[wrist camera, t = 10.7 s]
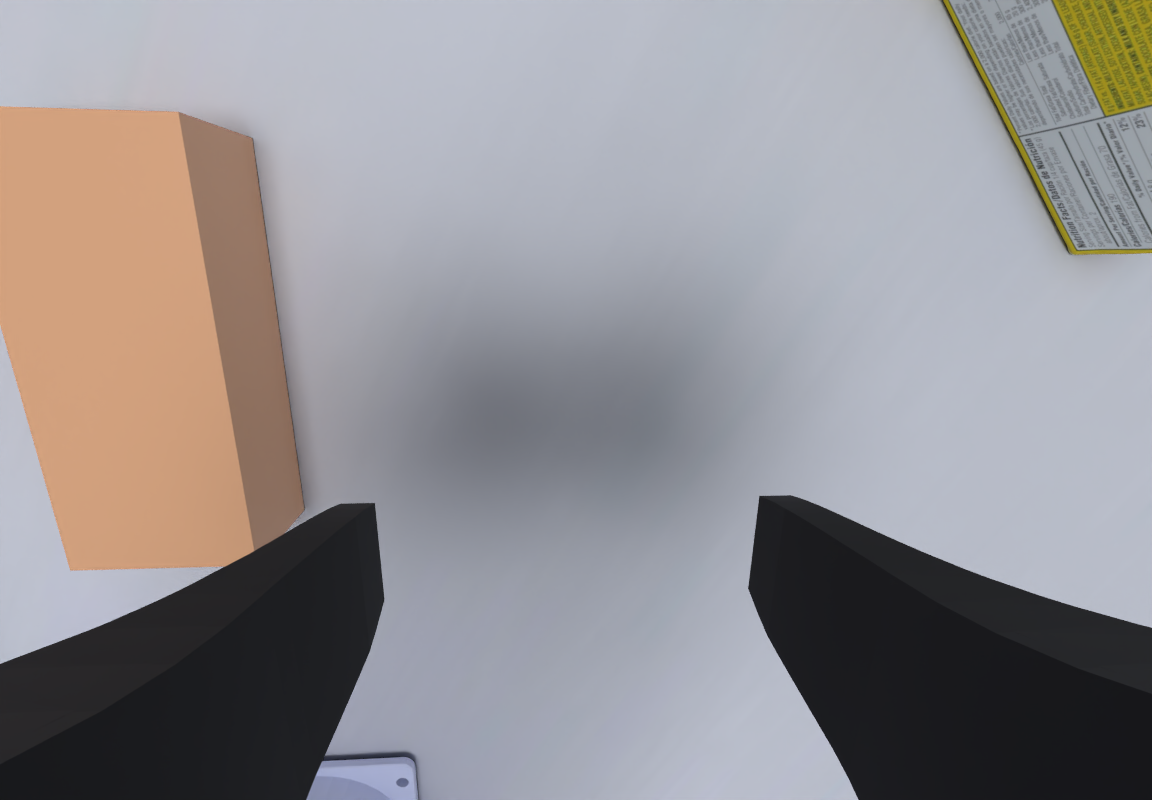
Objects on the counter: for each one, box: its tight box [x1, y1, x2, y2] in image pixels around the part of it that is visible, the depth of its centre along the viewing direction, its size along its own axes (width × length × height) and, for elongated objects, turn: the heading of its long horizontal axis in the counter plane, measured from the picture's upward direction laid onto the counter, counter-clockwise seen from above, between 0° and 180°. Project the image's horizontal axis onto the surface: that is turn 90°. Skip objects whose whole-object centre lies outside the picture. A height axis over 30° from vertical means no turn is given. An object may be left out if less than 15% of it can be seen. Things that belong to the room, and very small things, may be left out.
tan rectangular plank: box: [0, 107, 304, 570], centre depth 17 cm, size 13×5×4 cm, turn 179°
